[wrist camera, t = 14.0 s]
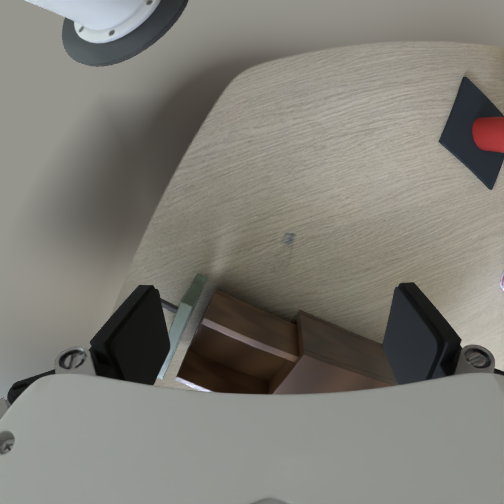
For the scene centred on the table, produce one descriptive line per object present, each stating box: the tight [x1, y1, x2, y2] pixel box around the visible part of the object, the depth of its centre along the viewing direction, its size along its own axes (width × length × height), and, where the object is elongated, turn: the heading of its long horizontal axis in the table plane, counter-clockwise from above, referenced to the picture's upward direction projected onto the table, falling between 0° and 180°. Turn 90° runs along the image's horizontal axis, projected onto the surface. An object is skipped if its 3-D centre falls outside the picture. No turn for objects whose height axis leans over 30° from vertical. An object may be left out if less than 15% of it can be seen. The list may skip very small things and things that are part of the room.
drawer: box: [157, 273, 300, 395], centre depth 30 cm, size 19×11×6 cm, turn 65°
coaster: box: [439, 77, 504, 190], centre depth 23 cm, size 10×10×1 cm
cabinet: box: [268, 310, 398, 395], centre depth 31 cm, size 16×13×8 cm
